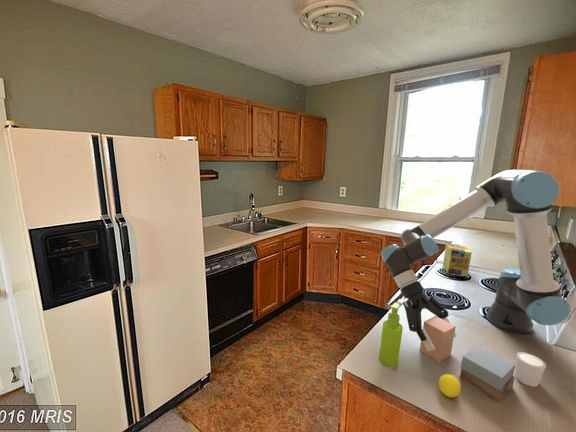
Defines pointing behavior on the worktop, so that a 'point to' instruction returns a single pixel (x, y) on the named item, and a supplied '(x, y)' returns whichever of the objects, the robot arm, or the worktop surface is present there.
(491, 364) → the tower top block
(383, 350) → the soap dispenser
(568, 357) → the worktop surface
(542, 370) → the white cylinder
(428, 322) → the terracotta block
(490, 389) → the tower base block
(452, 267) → the protein box
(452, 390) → the lemon
